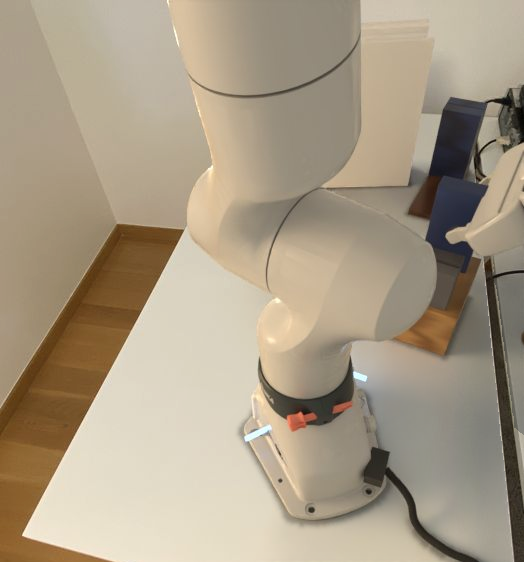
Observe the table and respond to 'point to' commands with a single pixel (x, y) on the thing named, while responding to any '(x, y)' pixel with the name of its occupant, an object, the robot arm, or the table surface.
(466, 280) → the oak shelf
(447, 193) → the navy book
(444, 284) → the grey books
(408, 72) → the block
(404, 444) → the table surface
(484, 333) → the table surface
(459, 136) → the book rack
